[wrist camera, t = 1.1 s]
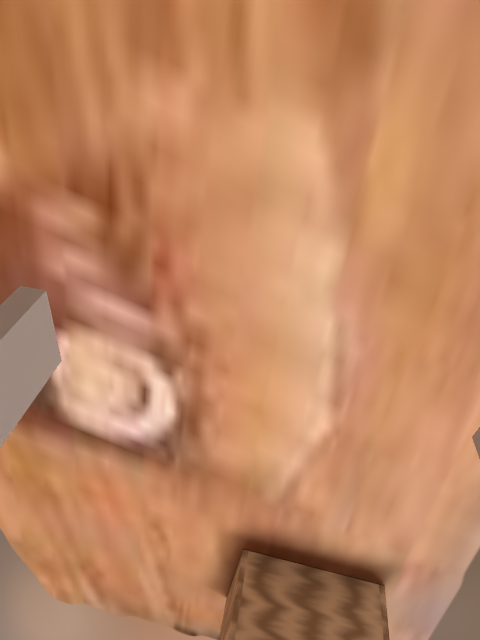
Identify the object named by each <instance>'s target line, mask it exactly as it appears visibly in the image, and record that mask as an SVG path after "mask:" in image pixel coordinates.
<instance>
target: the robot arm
mask: <svg viewBox="0 0 480 640" xmlns="http://www.w3.org/2000/svg"><path fill="white" fill-rule="evenodd" d="M61 361H62V360H61V356H60V351H59V346H58V342H57V337H56V333H55V328H54V324H53V319H52V315H51V310H50V306H49V301H48V297H47V292H46V290H40V289H35V288H29V287H23V286H20V287H19V288H17V289H16V290H15V291H14V292H13V293H12V294H11V295H10V296H9V297H8V298H7V299H6V300H5V301H4V302H3V303H2V304H1V305H0V447H1V446H2V445H3V443H4V442H5V440H6V439H7V437H8V436H9V435H10V433H11V432H12V430H13V429H14V427H15V426H16V425H17V423H18V422H19V420H20V419H21V417H22V416H23V415H24V413H25V412H26V410H27V409H28V408H29V406H30V405H31V403H32V402H33V400H34V399H35V398H36V396H37V395H38V393H39V392H40V390H41V389H42V388H43V386H44V385H45V383H46V382H47V381H48V379H49V378H50V376H51V375H52V373H53V372H54V371H55V369H56V368H57V366H58V365H59V363H60V362H61ZM472 438H473V441H474V444H475V447H476V449H477V452H478V455H479V458H480V427H479V429H478V430H477V431H476V433H475V434H474V435H473V437H472Z"/></svg>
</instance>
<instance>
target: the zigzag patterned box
mask: <svg viewBox="0 0 480 640" xmlns="http://www.w3.org/2000/svg"><path fill="white" fill-rule="evenodd" d="M219 640H389V629H388V619H387V608H386V597H385V586H382V585H378V584H375V583H371V582H367V581H363V580H359V579H355V578H351V577H348V576H344V575H340V574H336V573H332V572H328V571H325V570H321V569H317V568H313V567H309V566H305V565H301V564H298V563H294V562H290V561H286V560H282V559H278V558H274V557H271V556H267V555H263V554H259V553H255V552H251V551H248V550H244V549H243V551H242V554H241V557H240V560H239V563H238V566H237V569H236V572H235V575H234V578H233V581H232V584H231V587H230V590H229V593H228V596H227V599H226V604H225V610H224V615H223V621H222V626H221V632H220V638H219Z"/></svg>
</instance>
